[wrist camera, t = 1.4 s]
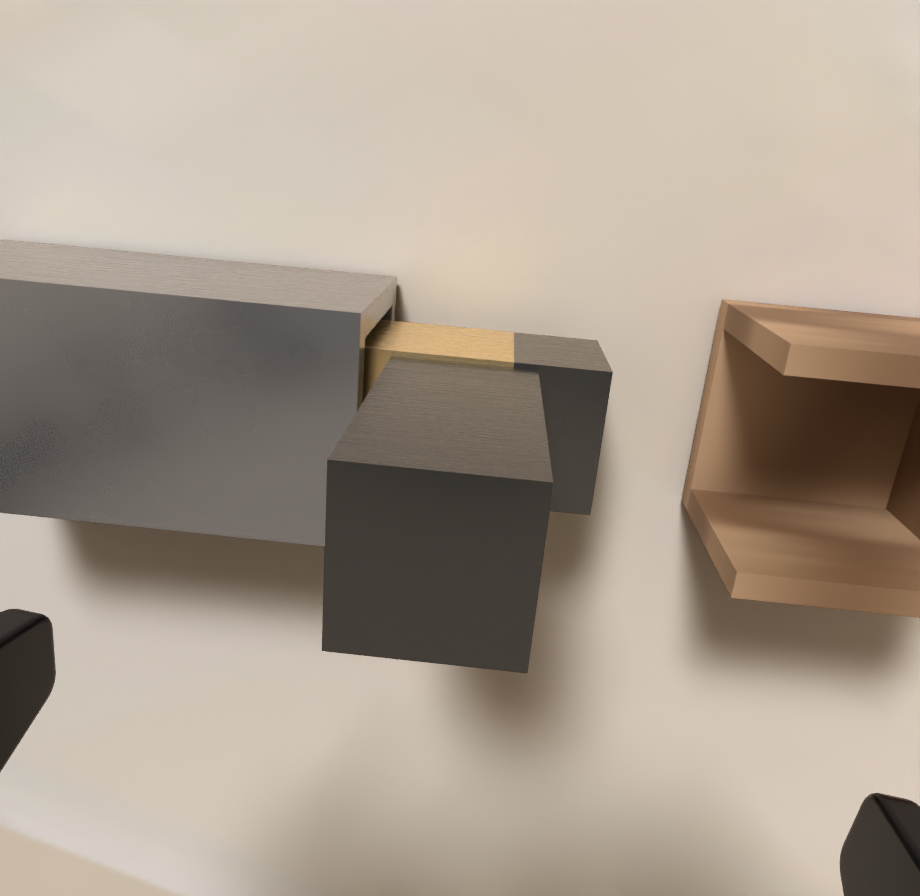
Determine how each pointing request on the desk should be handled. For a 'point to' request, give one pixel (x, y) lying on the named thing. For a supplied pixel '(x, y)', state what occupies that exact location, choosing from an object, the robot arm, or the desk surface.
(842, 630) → the desk surface
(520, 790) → the desk surface
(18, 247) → the sleeve
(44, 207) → the desk surface
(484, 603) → the slider
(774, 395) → the socket
